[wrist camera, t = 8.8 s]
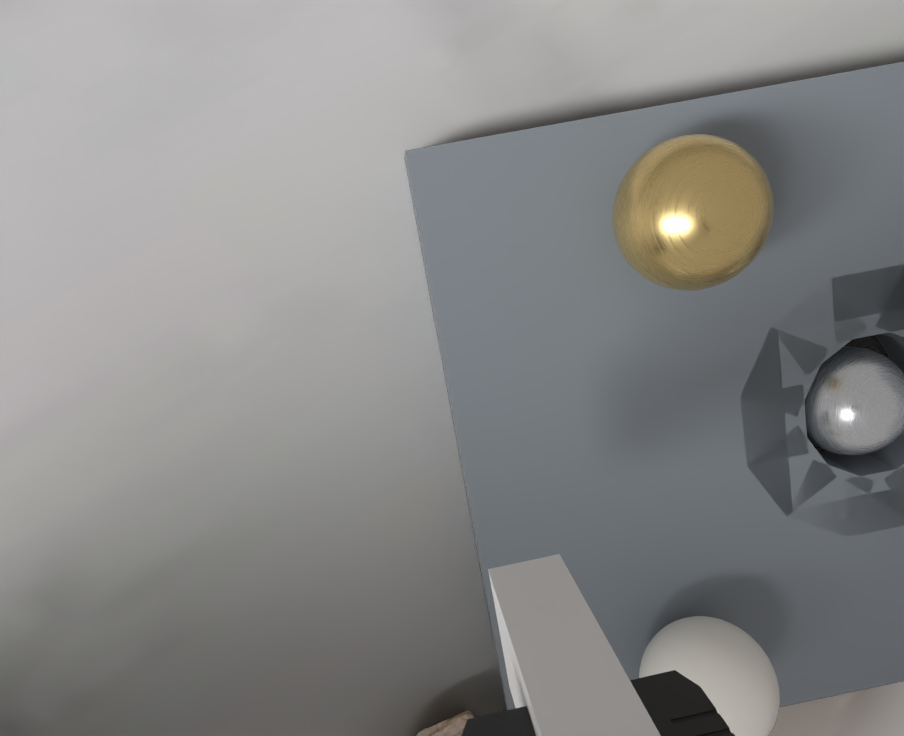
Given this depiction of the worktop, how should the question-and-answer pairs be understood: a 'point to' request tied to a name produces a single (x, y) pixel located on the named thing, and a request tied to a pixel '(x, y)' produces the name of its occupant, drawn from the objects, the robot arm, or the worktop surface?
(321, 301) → the worktop surface
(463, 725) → the stone
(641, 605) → the board
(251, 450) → the worktop surface
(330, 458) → the worktop surface
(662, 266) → the brass ball
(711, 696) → the white ball
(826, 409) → the steel ball
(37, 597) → the worktop surface
